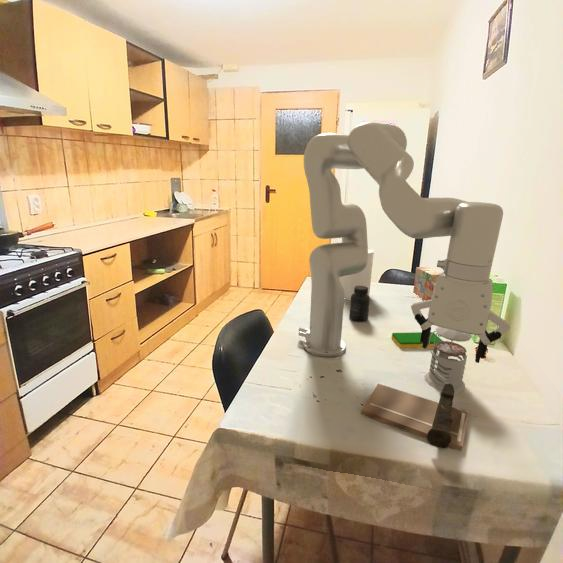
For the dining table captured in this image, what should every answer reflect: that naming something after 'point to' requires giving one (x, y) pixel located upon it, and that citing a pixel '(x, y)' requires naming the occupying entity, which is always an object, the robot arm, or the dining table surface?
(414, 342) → the dish sponge
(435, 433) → the hand tool
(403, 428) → the board
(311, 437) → the dining table surface
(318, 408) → the dining table surface
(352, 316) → the supplement bottle
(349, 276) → the canister
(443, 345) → the french press
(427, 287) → the stack of blocks
